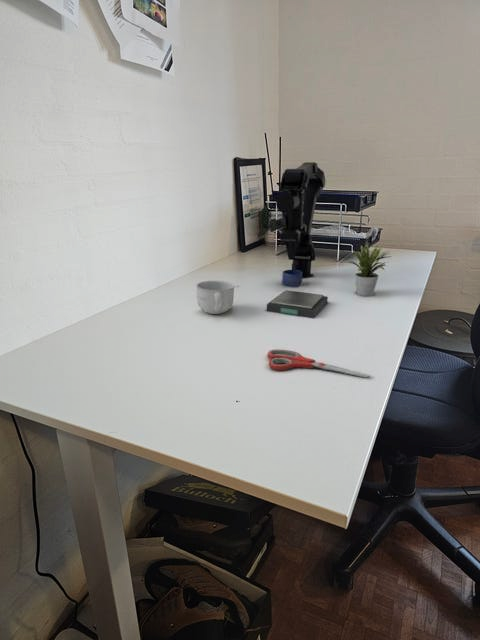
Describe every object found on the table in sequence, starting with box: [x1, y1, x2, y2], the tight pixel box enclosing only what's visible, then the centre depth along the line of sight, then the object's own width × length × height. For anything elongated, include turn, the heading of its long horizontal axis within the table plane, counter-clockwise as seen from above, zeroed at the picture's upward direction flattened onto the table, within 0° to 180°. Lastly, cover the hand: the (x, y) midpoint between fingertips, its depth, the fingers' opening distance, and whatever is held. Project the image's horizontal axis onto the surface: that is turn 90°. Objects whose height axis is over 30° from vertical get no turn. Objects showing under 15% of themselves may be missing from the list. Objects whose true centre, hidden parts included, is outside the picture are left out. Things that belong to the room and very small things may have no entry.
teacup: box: [195, 280, 235, 315], centre depth 114 cm, size 14×11×8 cm
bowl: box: [281, 269, 303, 288], centre depth 139 cm, size 7×7×4 cm
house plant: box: [347, 243, 393, 297], centre depth 125 cm, size 14×14×16 cm
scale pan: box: [270, 289, 325, 309], centre depth 118 cm, size 12×12×1 cm
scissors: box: [266, 348, 370, 378], centre depth 84 cm, size 8×21×2 cm, turn 78°
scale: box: [266, 291, 329, 319], centre depth 118 cm, size 14×14×2 cm
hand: (292, 256), depth 137 cm, fingers open, 9 cm apart
